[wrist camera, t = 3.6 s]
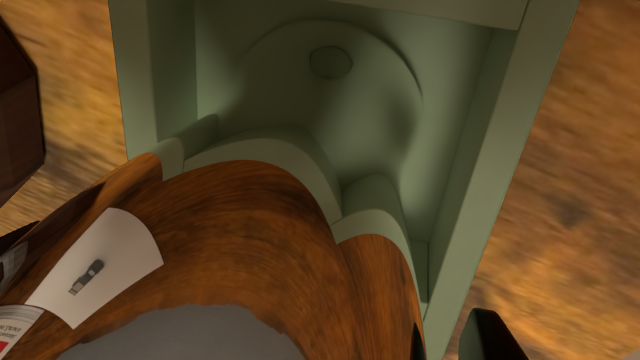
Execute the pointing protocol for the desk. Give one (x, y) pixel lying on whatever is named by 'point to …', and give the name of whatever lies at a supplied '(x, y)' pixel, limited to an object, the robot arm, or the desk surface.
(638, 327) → the desk surface
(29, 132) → the mug
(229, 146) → the beer glass
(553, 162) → the desk surface
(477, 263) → the holder
